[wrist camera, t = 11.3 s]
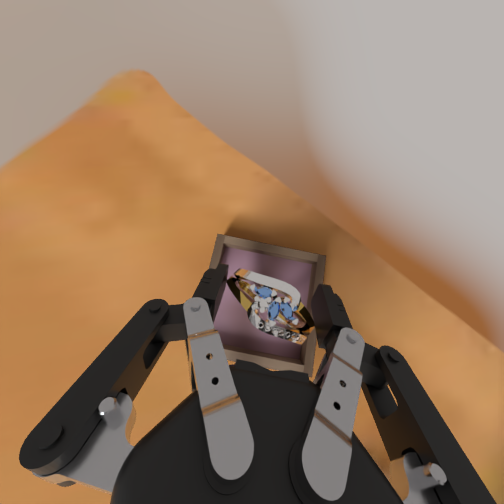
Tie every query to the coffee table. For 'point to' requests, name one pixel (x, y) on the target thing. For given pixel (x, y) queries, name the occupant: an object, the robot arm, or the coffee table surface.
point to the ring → (272, 305)
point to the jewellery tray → (282, 268)
